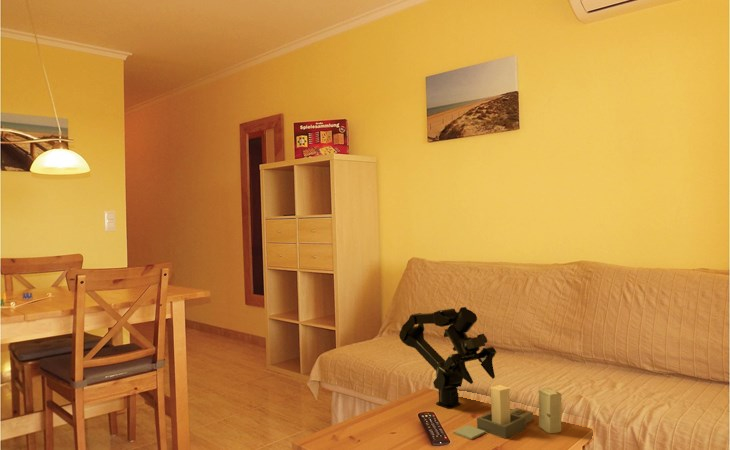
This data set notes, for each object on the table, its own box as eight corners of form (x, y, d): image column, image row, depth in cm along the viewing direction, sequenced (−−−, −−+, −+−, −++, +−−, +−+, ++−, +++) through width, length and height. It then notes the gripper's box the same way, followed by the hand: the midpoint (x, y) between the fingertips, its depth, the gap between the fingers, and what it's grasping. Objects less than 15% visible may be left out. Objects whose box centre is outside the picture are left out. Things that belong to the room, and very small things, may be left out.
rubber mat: (453, 433, 168) (453, 431, 168) (467, 426, 173) (467, 424, 173) (471, 439, 163) (471, 437, 163) (485, 433, 168) (485, 431, 168)
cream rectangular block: (492, 428, 171) (490, 387, 171) (501, 425, 173) (500, 384, 173) (501, 432, 168) (499, 390, 167) (510, 429, 170) (509, 388, 169)
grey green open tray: (477, 428, 171) (477, 417, 171) (511, 413, 183) (511, 403, 183) (505, 438, 163) (505, 427, 163) (539, 421, 175) (539, 411, 175)
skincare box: (538, 427, 171) (536, 388, 170) (550, 424, 172) (549, 386, 172) (550, 434, 165) (549, 394, 165) (562, 432, 166) (561, 392, 166)
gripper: (448, 330, 177) (471, 372, 167) (491, 322, 186) (516, 362, 176) (434, 349, 184) (456, 391, 174) (477, 341, 193) (500, 380, 183)
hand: (483, 380), depth 177 cm, fingers open, 9 cm apart
